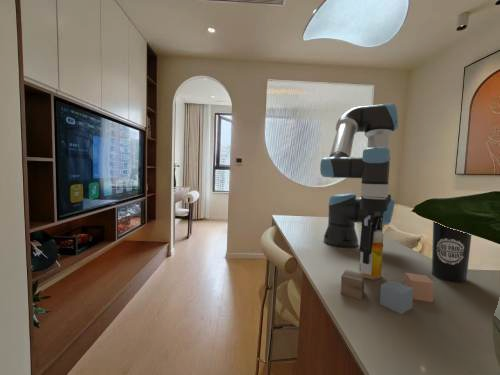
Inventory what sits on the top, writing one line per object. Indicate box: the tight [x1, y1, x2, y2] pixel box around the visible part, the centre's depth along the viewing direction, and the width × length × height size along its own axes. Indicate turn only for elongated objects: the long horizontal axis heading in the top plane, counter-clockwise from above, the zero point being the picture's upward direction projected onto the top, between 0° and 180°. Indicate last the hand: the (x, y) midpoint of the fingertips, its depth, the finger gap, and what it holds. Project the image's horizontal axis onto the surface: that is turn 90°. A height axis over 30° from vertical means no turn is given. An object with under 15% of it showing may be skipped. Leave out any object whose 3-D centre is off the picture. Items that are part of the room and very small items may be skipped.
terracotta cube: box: [403, 272, 435, 303], centre depth 63 cm, size 5×5×5 cm
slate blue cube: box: [379, 279, 414, 315], centre depth 58 cm, size 5×5×5 cm
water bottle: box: [431, 221, 472, 284], centre depth 75 cm, size 10×10×23 cm
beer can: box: [359, 229, 384, 281], centre depth 74 cm, size 6×6×15 cm
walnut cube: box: [340, 269, 366, 300], centre depth 64 cm, size 5×5×5 cm
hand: (370, 269), depth 75 cm, fingers open, 7 cm apart
